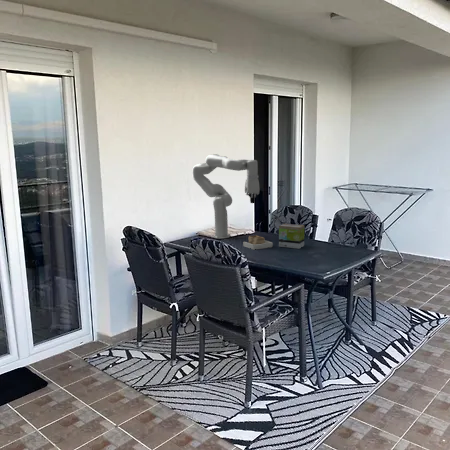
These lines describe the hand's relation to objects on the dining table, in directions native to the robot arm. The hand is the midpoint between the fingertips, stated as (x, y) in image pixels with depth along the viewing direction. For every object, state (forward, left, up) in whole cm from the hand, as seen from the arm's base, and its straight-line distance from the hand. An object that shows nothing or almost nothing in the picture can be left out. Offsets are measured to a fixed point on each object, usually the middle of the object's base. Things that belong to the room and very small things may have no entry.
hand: (252, 203), depth 336 cm
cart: (+19, -9, -27) cm, 34 cm away
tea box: (+33, +10, -27) cm, 44 cm away
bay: (+20, -9, -27) cm, 35 cm away
